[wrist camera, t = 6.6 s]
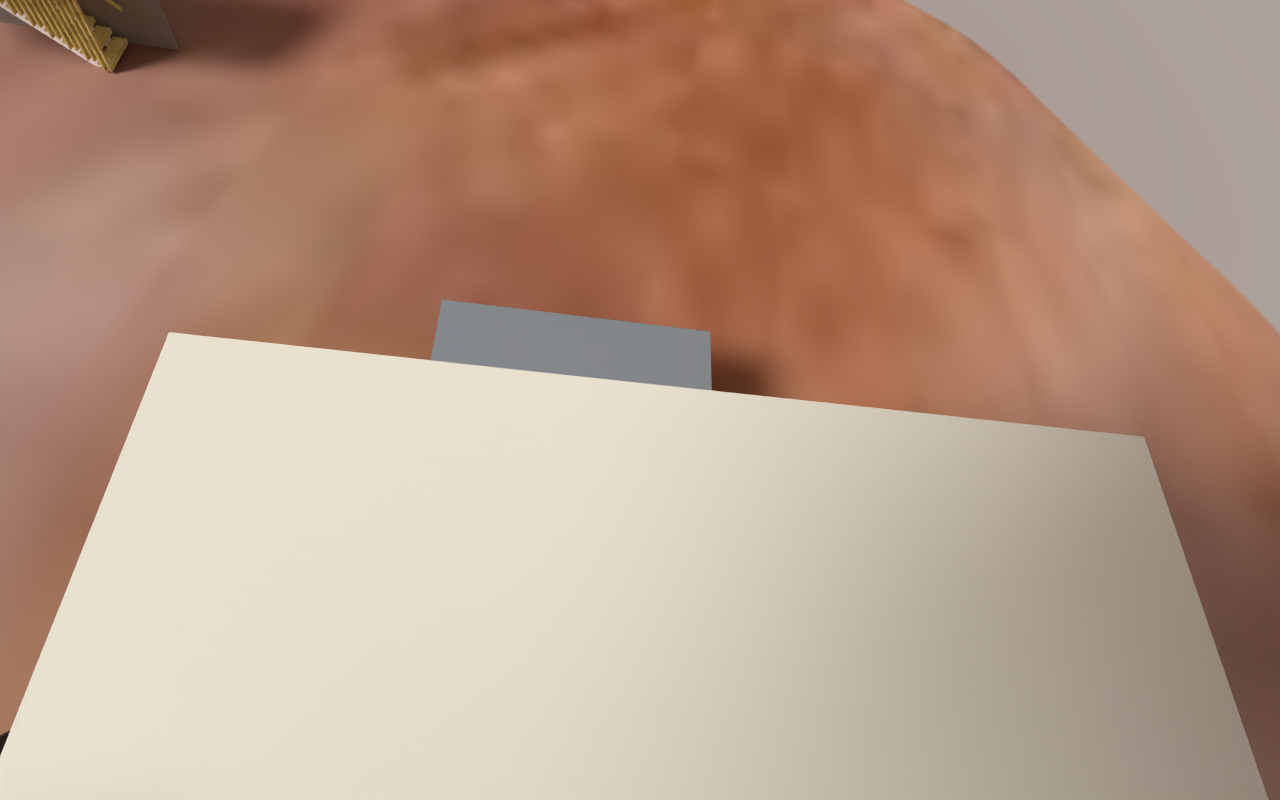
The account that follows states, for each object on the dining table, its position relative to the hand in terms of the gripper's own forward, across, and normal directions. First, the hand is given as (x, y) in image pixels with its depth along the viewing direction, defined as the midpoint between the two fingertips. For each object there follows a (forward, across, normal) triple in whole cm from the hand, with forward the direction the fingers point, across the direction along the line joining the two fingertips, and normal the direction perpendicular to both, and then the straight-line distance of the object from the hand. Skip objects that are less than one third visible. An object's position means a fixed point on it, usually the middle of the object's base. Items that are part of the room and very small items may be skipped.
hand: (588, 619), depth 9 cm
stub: (+3, 0, +5) cm, 7 cm away
